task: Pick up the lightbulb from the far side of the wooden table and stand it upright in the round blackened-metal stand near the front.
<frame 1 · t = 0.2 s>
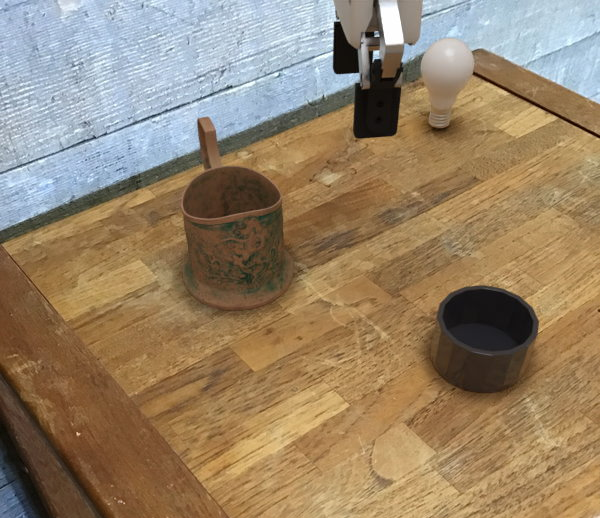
hand: (362, 101, 57), 21 cm above the table, tool pointing down, fingers open, 9 cm apart
stand: (477, 357, 69), on the table
lightbulb: (438, 128, 95), on the table
mug: (231, 255, 79), on the table
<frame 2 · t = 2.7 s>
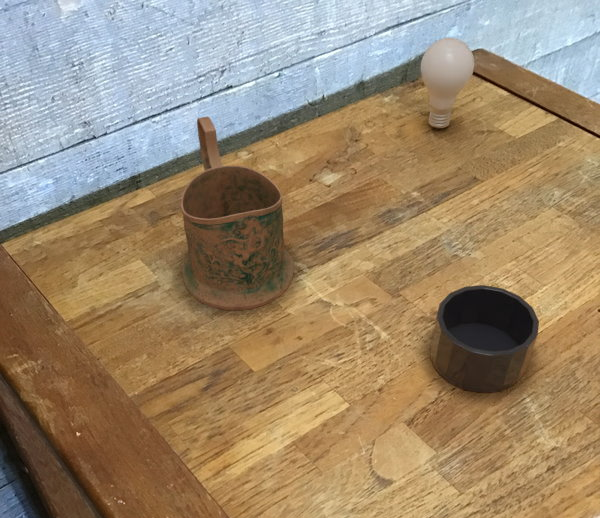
nothing on the table moved.
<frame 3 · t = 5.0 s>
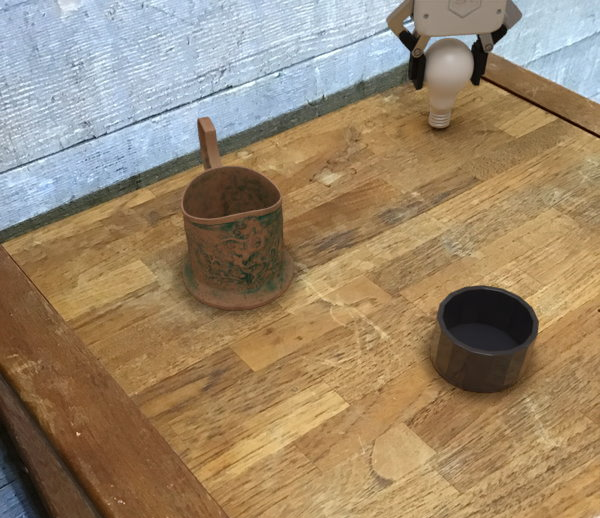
hand: (444, 81, 90), 6 cm above the table, tool pointing down, fingers closed on lightbulb, 6 cm apart
lightbulb: (438, 128, 95), on the table, touching gripper
everything else where it was.
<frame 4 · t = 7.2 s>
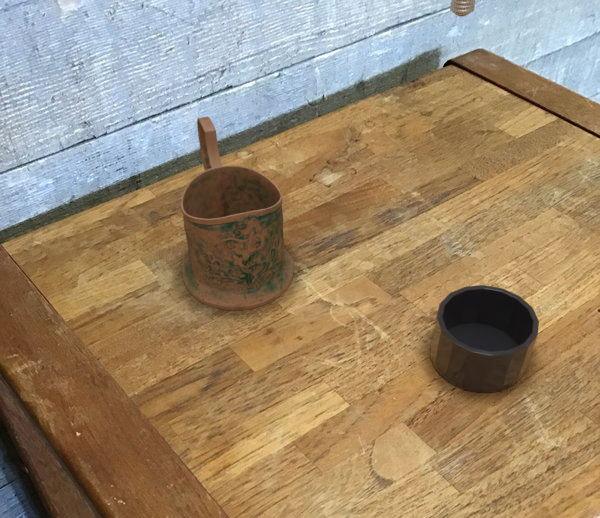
lightbulb: (461, 16, 82), point 14 cm above the table, touching gripper
everything else where it was.
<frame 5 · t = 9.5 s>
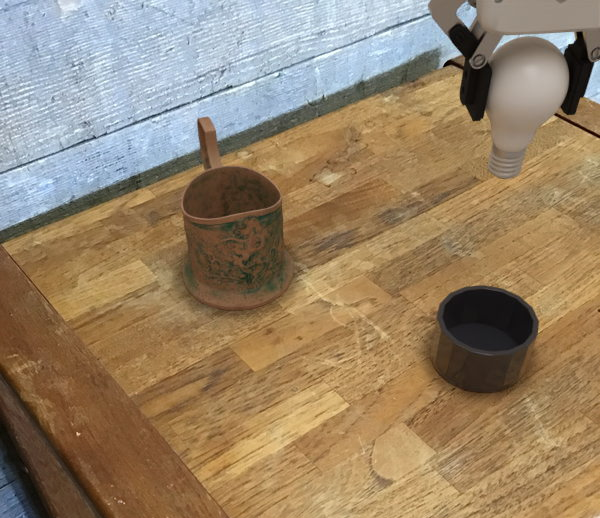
hand: (518, 107, 56), 22 cm above the table, tool pointing down, fingers closed on lightbulb, 6 cm apart
lightbulb: (501, 178, 61), point 15 cm above the table, touching gripper
everything else where it was.
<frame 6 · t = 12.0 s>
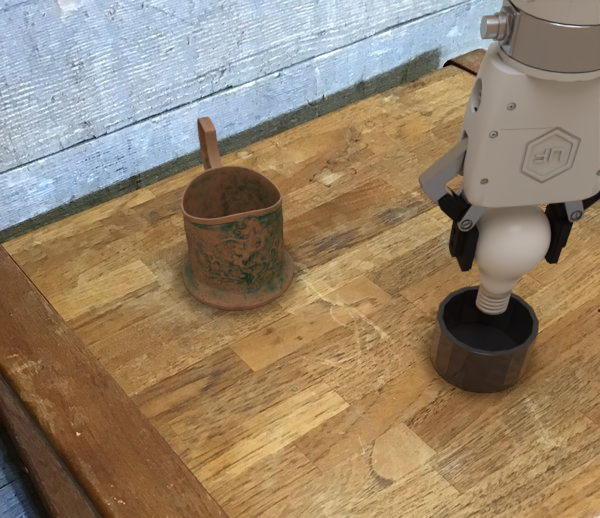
hand: (504, 255, 60), 12 cm above the table, tool pointing down, fingers closed on lightbulb, 6 cm apart
lightbulb: (489, 311, 64), point 6 cm above the table, touching gripper
everything else where it was.
when the fingers open (7 cm above the table, at t = 13.9 s): lightbulb stays where it is, resting on stand.
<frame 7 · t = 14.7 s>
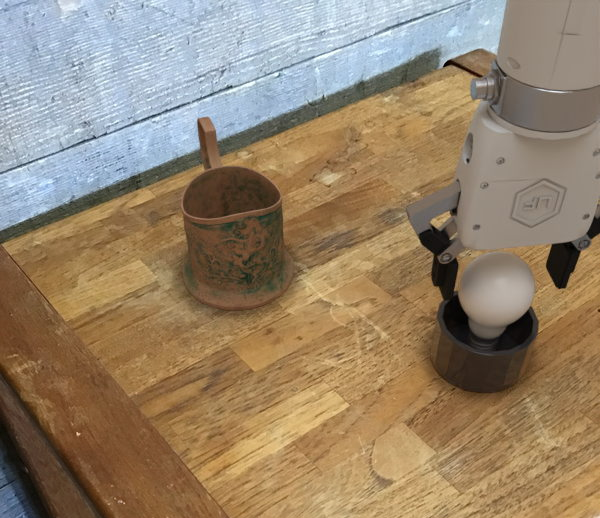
hand: (499, 283, 62), 9 cm above the table, tool pointing down, fingers open, 9 cm apart
lightbulb: (479, 353, 69), resting on stand
everything else where it was.
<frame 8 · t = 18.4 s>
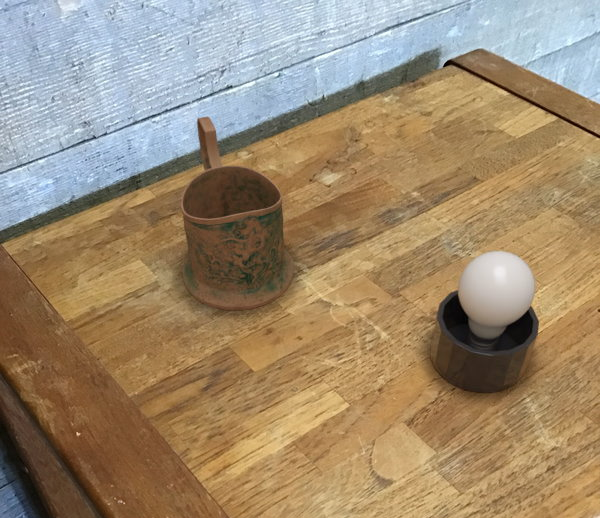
nothing on the table moved.
at the end: lightbulb 0.1 cm off-centre in the stand, point 0.4 cm above the stand's base; lightbulb tilted 0°; the gripper is holding nothing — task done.
